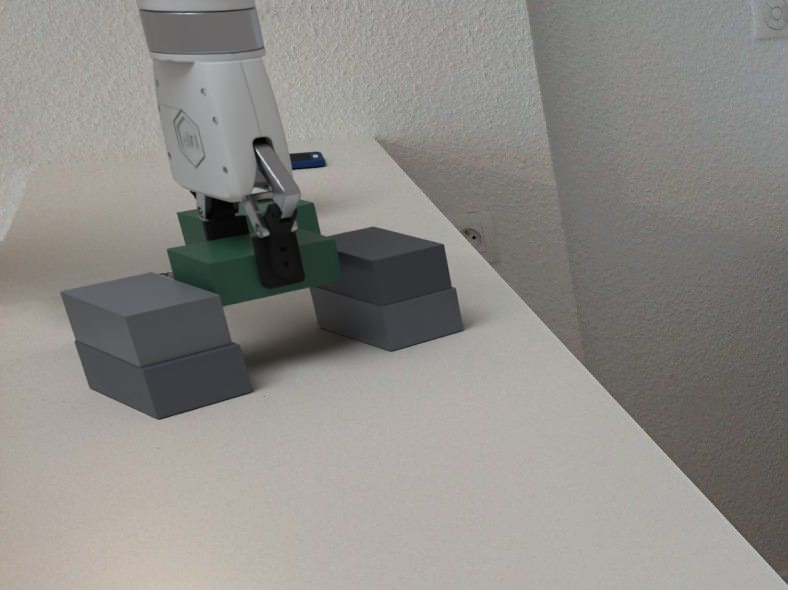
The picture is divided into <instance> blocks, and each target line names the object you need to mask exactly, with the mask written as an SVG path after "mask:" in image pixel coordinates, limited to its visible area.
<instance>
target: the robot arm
mask: <svg viewBox="0 0 788 590" xmlns="http://www.w3.org/2000/svg"><path fill="white" fill-rule="evenodd" d="M135 1H136V6H137V9H138V14H139V18H140V21H141V22H140V23H141V26H142V30H143V34H144V38H145V42H146V47H147V49H148V55H149V58H150V59H151V60H152V70H153V72H152V73H153V81H154V89H155V90H154V91H155V97H156V103H157V110H158V115H159V119H160V125H161V126H160V127H161V130H162V136H163V140H164V145H165V150H166V154H167V158H168V163H169V168H170V172H171V175H172V179H173V180H174V182H176V184H177V185H178V186H181V187H182V188H184V189H185V190H188V191H189V193H190V194H191V195H192V196H193V198H194V199H195V201H196V203H195V204H196V209H197V213H198V216H199V217H200V219H201V220H208V221H203V222H202V224H203V228H204V232H205V236H206V240H207V241H212V240H217V239H222V238H228V237H233V236H239V235H244V234H250V232H249V228H248V223H247V219H246V216H245V215H238V214H239V201H242V203H243V205H244V207H245V210H246V212H247V214H248V216H249V219H250V221H251V223H252V226H253V228H254V230H255V232H256V234H257V236H254V237H251V240H252V244H253V248H254V253H255V257H256V261H257V266H258V270H259V275H260V279H261V283H262V286H263V287H265V288H268V289H273V288H278V287H282V286H287V285H291V284H296V283H300V282H303V281H304V280H305V274H304V269H303V264H302V260H301V255H300V250H299V246H298V241H297V236H296V232H297V230H298V226H297V222H296V220H295V219H296V216H297V212H298V209H297V206H298V203H299V200H300V199H301V196H302V191H301V189H300V186H299V185H298V184H297V183H296V181H295V179H294V174H293V168H292V166H291V160H290V155H289V154H290V150H289V146H288V142H287V137H286V133H285V129H284V126H283V121H282V119H281V118H282V117H281V115H280V110H279V107H278V104H277V100H276V97H275V93H274V91H273V87H272V83H271V81H270V78H269V75H268V72H267V69H266V67H265V63H264V61H263V58H262V57H266V55H267V52H266V47H265V42H264V37H263V33H262V28H261V24H260V19H259V14H258V9H257V7H256V6H257V5H256V0H135ZM255 187H256V188H260V189H263V190H267V191H266V192H260V193H253V194H252V191H253V188H255ZM268 202H273V204H268V206H267V209H266V212H265V215H264V216H263V214H262V212H261V209H260V207H259V205H258V204H262V203H268ZM235 215H238V216H235Z"/></svg>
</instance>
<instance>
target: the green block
mask: <svg viewBox="0 0 788 590" xmlns="http://www.w3.org/2000/svg"><path fill="white" fill-rule="evenodd" d="M254 236H257V234H256V232H255V233H250V234H244V235H239V236H233V237H228V238H222V239H217V240H212V241H206V242H201V243H195V244H190V245H179V246H174V247H169V248H166V253H167V257H168V260H169V261H168V262H169V265H170V268H171V272H172V276H173V279H174V280H177V281H180V282H183V283H186V284H189V285H192V286H195V287H197V288H200V289H203V290H206V291H209V292H212V293H215V294H218V295H220V299H221V303H222V306H223V308H224V307H228V306H232V305H237V304H242V303H246V302H250V301H255V300H259V299H263V298H269V297H273V296H279V295H282V294H286V293H291V292H296V291H300V290H305V289H310V288H309V287H314V286H318V285H323V284H327V283H332V282H336V281H341V280H343V277H342V272H341V267H340V262H339V257H338V252H337V247H336V242H335V239H334V238H330V237H327V236H328V235H324V234H321V235H320V234H317V233H314V232H310V231H307V230H303V229H300V228H298V230H297V232H296V236H297V241H298V246H299V250H300V255H301V260H302V264H303V269H304V274H305V280H304V281H303V282H300V283H296V284H291V285H287V286H282V287H278V288H273V289H268V288H265V287H263V286H262V283H261V279H260V275H259V270H258V266H257V261H256V257H255V253H254V248H253V244H252V240H251V237H254Z"/></svg>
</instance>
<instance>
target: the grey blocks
mask: <svg viewBox="0 0 788 590" xmlns="http://www.w3.org/2000/svg"><path fill="white" fill-rule="evenodd" d="M326 236H327V237H330V238H334V239H335V242H336V247H337V252H338V257H339V262H340V267H341V272H342V277H343V280H341V281H336V282H332V283H327V284H323V285H318V286H314V287H309V288H308V289H309V292H310V295H311V300H312V305H313V309H314V313H315V317H316V321H317V325H318V327H319V328H321V329H323V330H327V331H328V332H329V331H330V332H333V333H335V334H339V335H341V336H344V337H347V338H349V339H354V340H356V341H358V342H362V343H366V344H369V345H372V346H374V347H378V348H380V349H384V350H385V351H389V352H394V351H396V350H397V351H398V350H401V349H403V348H407V347H410V346H414V345H417V344H421V343H424V342H427V341H432V340H435V339H438V338H441V337H442V338H443V337H445V336H449V335H452V334H455V333H459V332H462V331H464V324H463V319H462V314H461V308H460V302H459V298H458V292H457V288H456V287H454V286H452V280H451V275H450V274H451V273H450V269H449V263H448V258H447V252H446V246H445V244H444V243H442V242H437V241H434V240H429V239H426V238H421V237H417V236H413V235H409V234H405V233H401V232H397V231H393V230H390V229H386V228H381V227H377V226H369V227H364V228H360V229H354V230H351V231H346V232H340V233H335V234H331V235H326ZM59 294H60V297H61V299H62V303H63V306H64V309H65V312H66V315H67V319H68V322H69V324H70V327H71V330H72V333H73V337H74V341H73V342H74V345H75V348H76V352H77V354H78V358H79V360H80V364H81V366H82V369H83V372H84V375H85V379H86V381H87V384H88V388H90V389H92V390H94V391H96V392H98V393H100V394H102V395H105V396H107V397H109V398H111V399H113V400H115V401H117V402H120V403H122V404H124V405H126V406H129V407H130V408H132V409H135V410H137V411H139V412H142V413H144V414H146V415H148V416H150V417H153V418H154V419H157V420H160V419H163V418H168V417H171V416H174V415H177V414H181V413H184V412H188V411H191V410H194V409H197V408H198V409H199V408H201V407H205V406H209V405H212V404H215V403H218V402H219V403H220V402H222V401H226V400H229V399H232V398H235V397H236V398H237V397H238V396H242V395H247V394H250V393H252V392H253V388H252V384H251V380H250V376H249V373H248V370H247V365H246V362H245V358H244V355H243V350H242V347H241V344H239V343H237V342H234V341H233V339H232V336H231V332H230V329H229V325H228V321H227V318H226V313H225V310H224V307H223V306H222V303H221V299H220V295H218V294H215V293H212V292H209V291H206V290H203V289H200V288H197V287H195V286H192V285H189V284H186V283H183V282H180V281H177V280H174V278H171V277H168V276H165V275H162V274H159V273H156V272H152V271H151V272H146V273H145V272H144V273H141V274H135V275H132V276H127V277H121V278H116V279H112V280H108V281H102V282H98V283H93V284H88V285H84V286H79V287H75V288H69V289H63V290H61V291H59Z"/></svg>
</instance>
